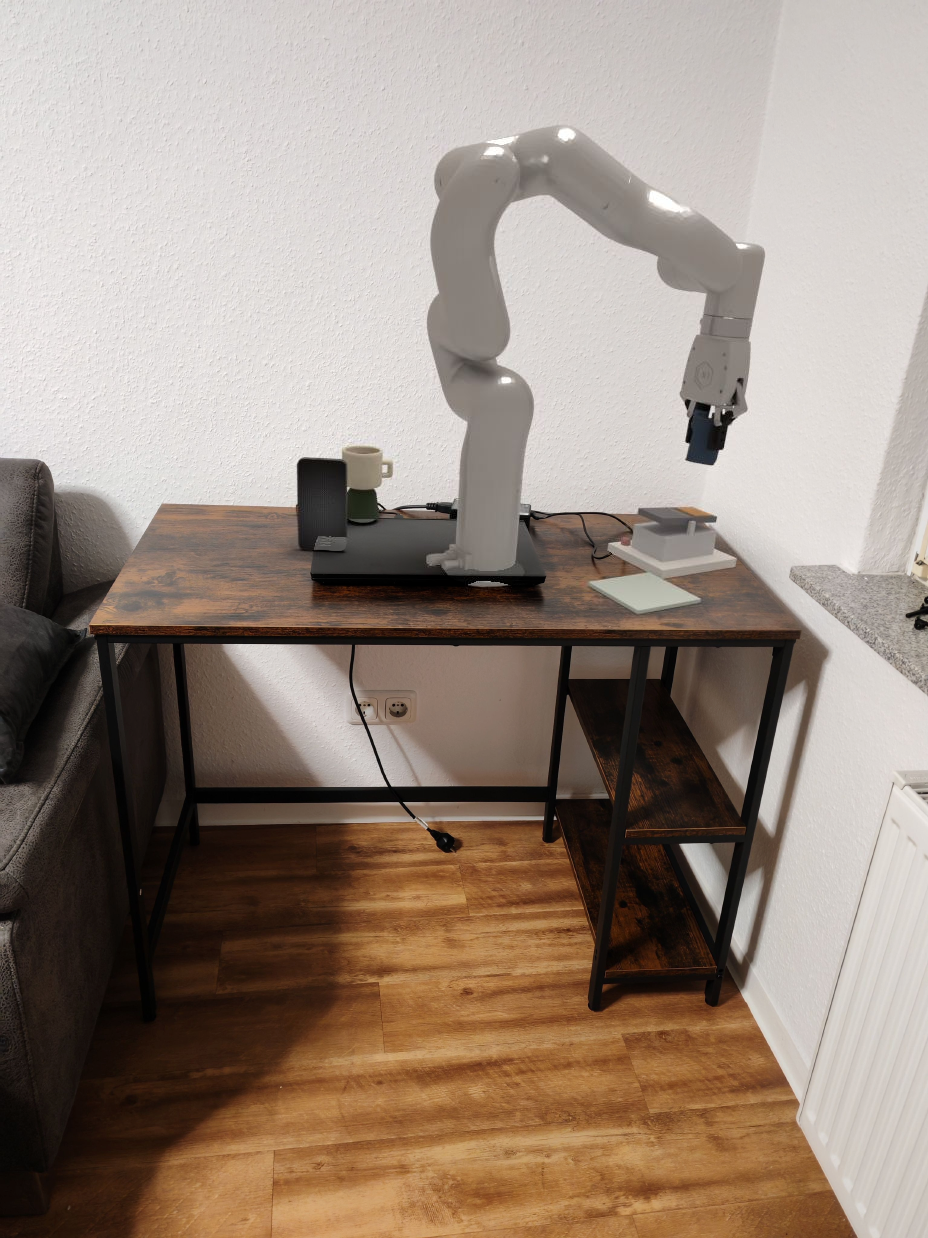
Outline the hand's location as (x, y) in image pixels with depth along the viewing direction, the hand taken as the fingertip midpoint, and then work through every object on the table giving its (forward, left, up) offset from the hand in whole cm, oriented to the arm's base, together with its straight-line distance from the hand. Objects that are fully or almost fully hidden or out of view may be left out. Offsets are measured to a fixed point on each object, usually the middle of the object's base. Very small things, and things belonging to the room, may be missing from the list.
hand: (704, 445), depth 146 cm
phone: (-57, +24, -19) cm, 64 cm away
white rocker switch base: (-3, 0, -19) cm, 19 cm away
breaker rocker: (-3, 0, -11) cm, 12 cm away
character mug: (-45, +36, -19) cm, 60 cm away
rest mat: (-19, -11, -19) cm, 29 cm away
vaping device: (-1, 0, -3) cm, 3 cm away
